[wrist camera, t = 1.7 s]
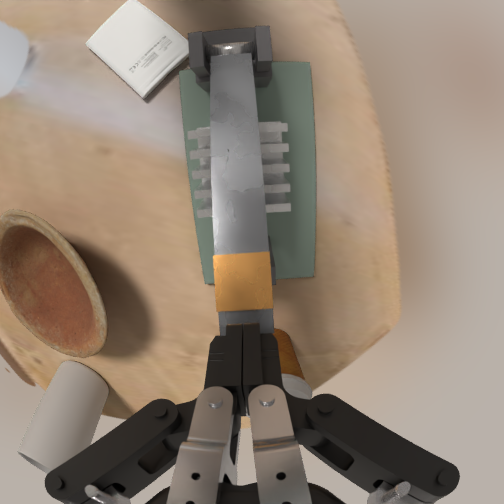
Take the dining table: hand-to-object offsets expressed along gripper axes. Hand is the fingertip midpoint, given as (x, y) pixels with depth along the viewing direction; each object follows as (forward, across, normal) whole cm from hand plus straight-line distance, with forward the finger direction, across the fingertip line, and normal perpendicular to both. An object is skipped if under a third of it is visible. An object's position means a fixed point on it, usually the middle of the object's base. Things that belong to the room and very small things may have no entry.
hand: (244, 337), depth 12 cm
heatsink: (+21, 0, -6) cm, 22 cm away
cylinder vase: (+22, +38, +33) cm, 55 cm away
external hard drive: (+22, +11, -22) cm, 33 cm away
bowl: (+22, +29, +6) cm, 37 cm away
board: (+21, -1, -4) cm, 22 cm away
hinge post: (+21, 0, -16) cm, 26 cm away
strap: (+8, 0, -7) cm, 11 cm away
